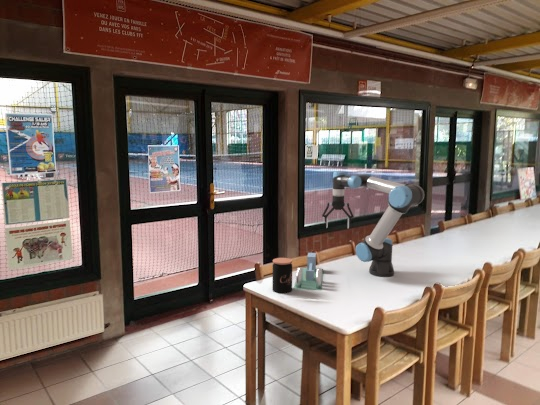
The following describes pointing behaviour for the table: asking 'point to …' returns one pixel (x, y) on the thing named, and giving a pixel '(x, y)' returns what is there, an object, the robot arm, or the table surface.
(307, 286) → the green mat
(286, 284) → the coffee jar
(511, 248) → the table surface
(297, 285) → the spacers
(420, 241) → the table surface
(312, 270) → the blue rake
